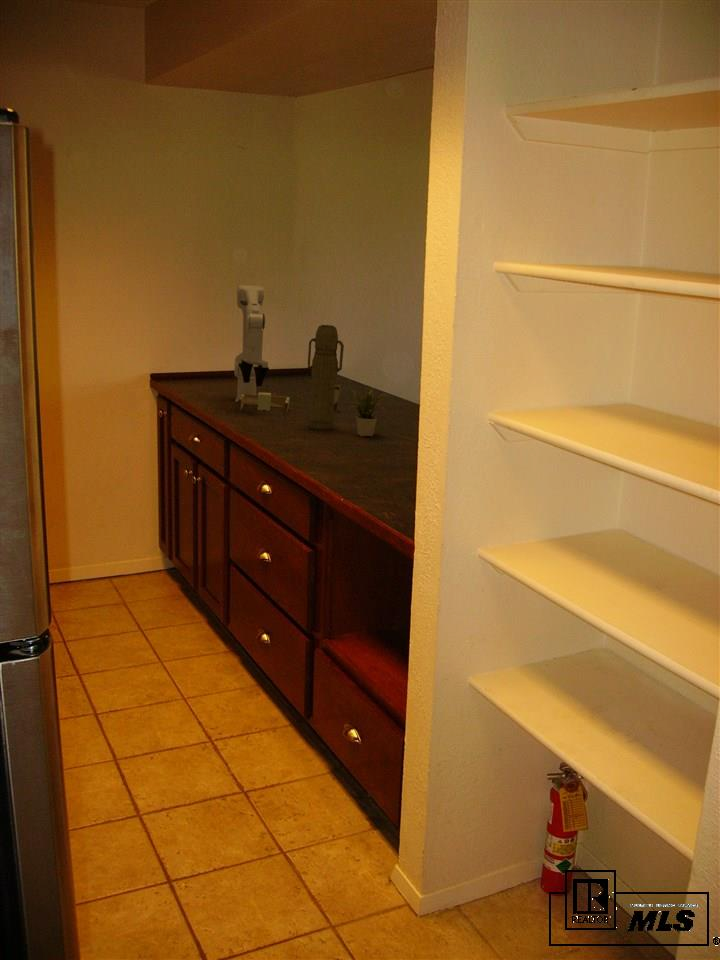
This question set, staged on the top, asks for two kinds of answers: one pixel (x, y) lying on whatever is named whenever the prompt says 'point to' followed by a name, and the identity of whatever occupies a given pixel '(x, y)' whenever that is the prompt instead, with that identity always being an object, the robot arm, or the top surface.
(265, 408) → the sage block
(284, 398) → the open crate
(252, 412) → the top surface
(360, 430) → the house plant
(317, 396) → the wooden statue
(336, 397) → the food container
